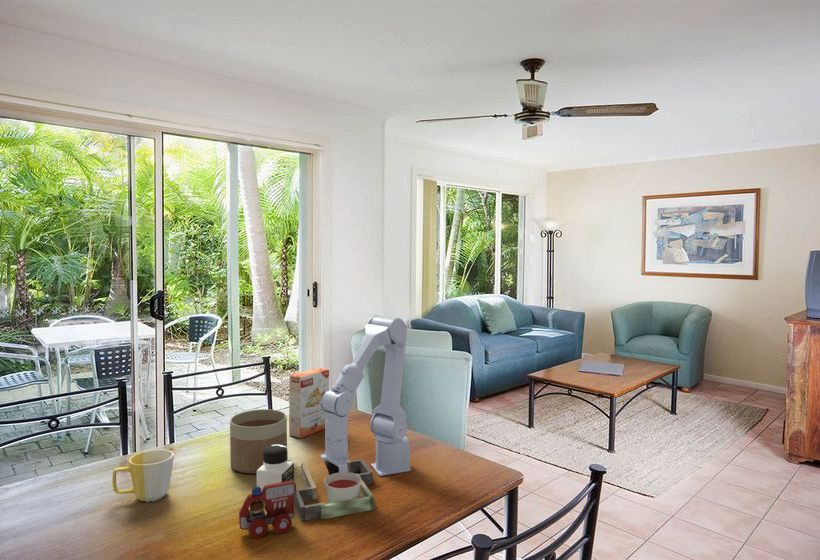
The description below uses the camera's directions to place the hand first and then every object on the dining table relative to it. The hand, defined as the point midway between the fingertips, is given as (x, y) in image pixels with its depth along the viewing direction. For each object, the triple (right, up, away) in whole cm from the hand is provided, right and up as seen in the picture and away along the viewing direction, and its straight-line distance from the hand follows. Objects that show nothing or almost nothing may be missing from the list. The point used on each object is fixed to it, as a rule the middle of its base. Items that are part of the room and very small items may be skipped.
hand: (336, 488), depth 135 cm
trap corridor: (-1, -1, +2) cm, 2 cm away
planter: (-25, 0, +18) cm, 31 cm away
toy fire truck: (-13, -3, -17) cm, 22 cm away
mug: (-48, -1, -3) cm, 48 cm away
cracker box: (-15, +2, +45) cm, 47 cm away
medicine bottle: (-16, -1, 0) cm, 16 cm away
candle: (+2, -2, -6) cm, 7 cm away
